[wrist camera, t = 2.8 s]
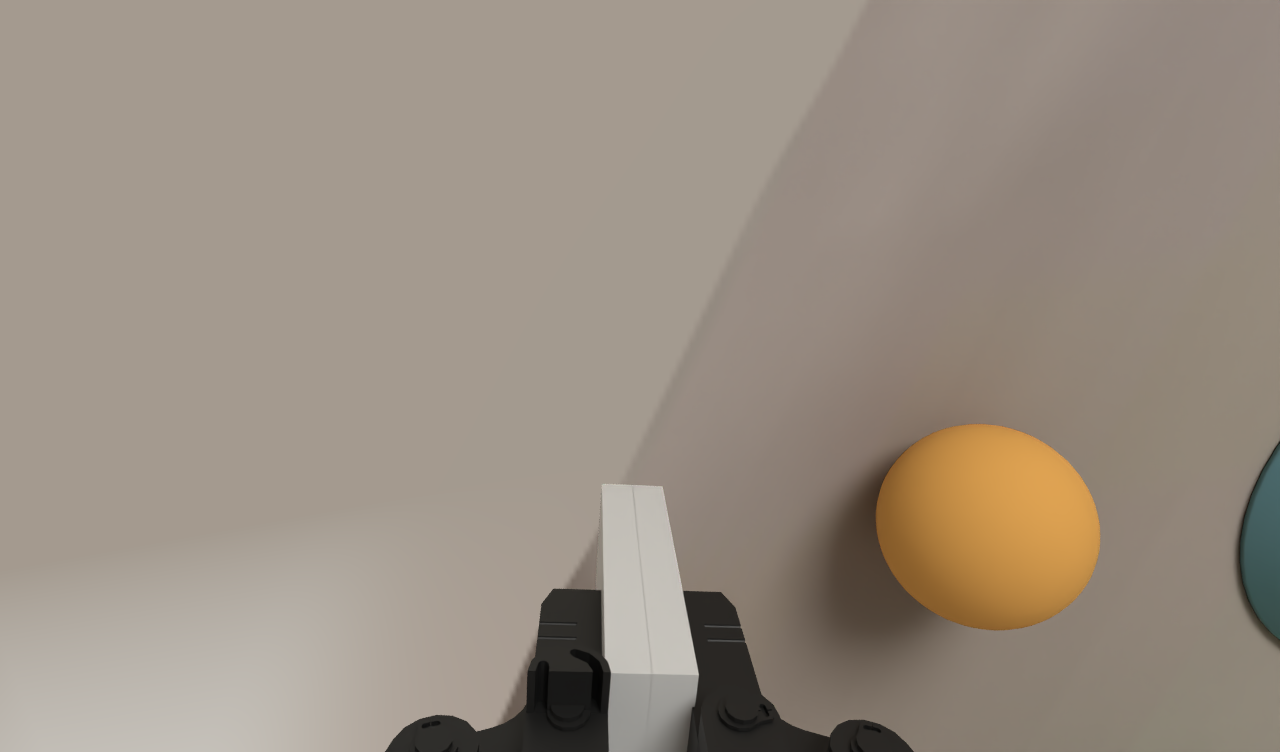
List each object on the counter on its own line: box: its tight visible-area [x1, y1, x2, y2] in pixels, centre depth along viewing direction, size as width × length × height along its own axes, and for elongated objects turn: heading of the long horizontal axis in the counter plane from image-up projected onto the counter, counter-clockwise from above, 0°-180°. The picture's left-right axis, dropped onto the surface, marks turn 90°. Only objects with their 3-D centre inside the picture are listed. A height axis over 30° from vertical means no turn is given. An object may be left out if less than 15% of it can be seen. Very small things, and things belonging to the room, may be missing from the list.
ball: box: [876, 424, 1100, 630], centre depth 19 cm, size 6×6×6 cm
